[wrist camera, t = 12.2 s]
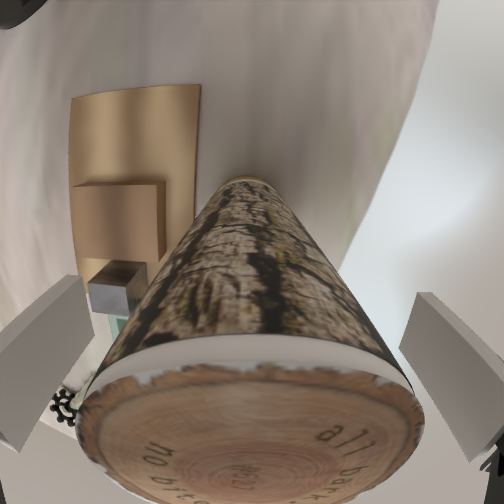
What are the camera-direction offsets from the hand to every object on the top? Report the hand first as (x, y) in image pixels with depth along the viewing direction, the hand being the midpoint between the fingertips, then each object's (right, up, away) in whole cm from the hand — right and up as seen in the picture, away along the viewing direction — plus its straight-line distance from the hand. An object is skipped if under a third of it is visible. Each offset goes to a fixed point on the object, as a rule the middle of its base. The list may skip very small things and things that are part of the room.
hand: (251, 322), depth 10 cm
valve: (-26, -19, +26) cm, 41 cm away
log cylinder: (-1, +7, +18) cm, 19 cm away
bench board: (-12, +8, +17) cm, 22 cm away
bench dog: (-13, 0, +19) cm, 23 cm away
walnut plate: (-13, +6, +17) cm, 22 cm away
